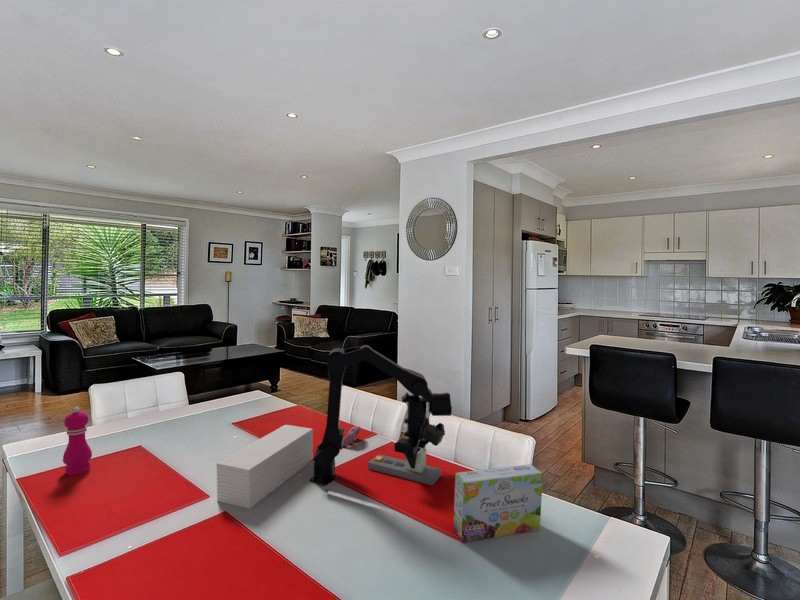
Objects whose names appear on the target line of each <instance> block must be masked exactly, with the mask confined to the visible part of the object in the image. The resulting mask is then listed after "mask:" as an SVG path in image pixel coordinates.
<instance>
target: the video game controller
mask: <svg viewBox="0 0 800 600" xmlns="http://www.w3.org/2000/svg"><path fill="white" fill-rule="evenodd" d="M361 430H362V427H360V426H358V425H354V426H352V427H351V428H350V429H349V431H348V432H347V433H346V436H344V437H343V439H344V442H343V447H346V446H348V445H352V444H353V442H355V441H356V440H357V437H358V435H359V434H360V432H361ZM351 443H352V444H351Z"/></svg>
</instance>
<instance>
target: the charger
mask: <svg viewBox="0 0 800 600" xmlns="http://www.w3.org/2000/svg"><path fill="white" fill-rule="evenodd" d="M418 448H420V447H418ZM405 461H406V470H410V471H414V472H418V473H421V472H422V471H423V470H424V469H425V468H426V466H427V448H426V447H425V448H422V449H421V450H420V451H419V452H417V457H416V464H415V468H414V469H413V468H411V467H410V465H409V463H408V460H407V458H406V457H405Z"/></svg>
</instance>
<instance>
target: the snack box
mask: <svg viewBox="0 0 800 600" xmlns="http://www.w3.org/2000/svg"><path fill="white" fill-rule="evenodd" d="M543 476H544V473H543V472H542V471H540V470H539V469H538V468H537V467H535V466H534V465H533V464H524V465H523V464H522V465H513V466H504V467H496V468H487V469H478V470H468V471H459V472H455V477H454V479H455V480H454V502H453V504H454V506H453V507H454V508H453V531H454V533H455V532H456V533H457V535H458V536H459V538H460V539H459V538H458V539H459V541H460V540H461V541H460V542H461V544H462V543H467V542H468V543H469V542H474V541H480V540H487V539H493V538H498V537H506V536H510V535H519V534H525V533H530V532H537V531H540V530H541V515H542V514H541V513H542V500H543V499H542V497H543V495H542V493H543V482H544V481H543V480H544V479H543V478H544V477H543ZM456 533H455V534H456ZM457 535H456V536H457ZM458 536H457V537H458Z"/></svg>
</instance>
